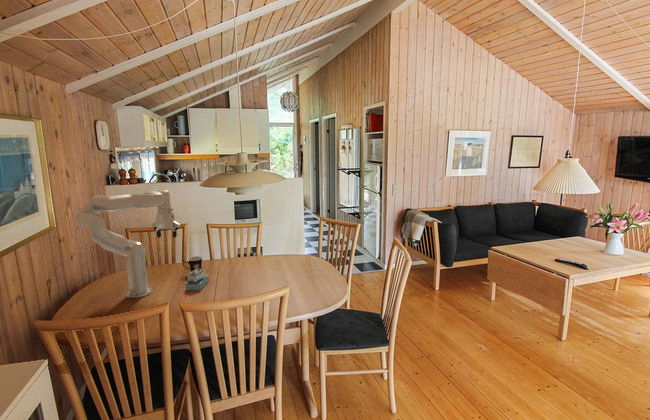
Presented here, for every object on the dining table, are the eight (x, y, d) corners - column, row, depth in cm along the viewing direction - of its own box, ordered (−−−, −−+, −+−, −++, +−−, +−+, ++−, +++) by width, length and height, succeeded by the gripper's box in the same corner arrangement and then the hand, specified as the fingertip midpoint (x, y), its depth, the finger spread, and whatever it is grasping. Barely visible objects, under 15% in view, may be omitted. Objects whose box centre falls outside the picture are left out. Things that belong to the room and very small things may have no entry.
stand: (200, 290, 214) (200, 283, 213) (185, 290, 214) (185, 283, 214) (208, 280, 228) (208, 274, 227) (194, 280, 228) (194, 274, 227)
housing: (205, 276, 224) (204, 268, 222) (196, 282, 215) (195, 273, 214) (197, 275, 225) (196, 267, 224) (188, 281, 217) (187, 272, 216)
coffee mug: (204, 269, 245) (203, 256, 243) (200, 274, 237) (199, 260, 235) (187, 270, 245) (186, 256, 243) (183, 275, 236) (181, 260, 234)
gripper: (181, 209, 223) (183, 235, 227) (153, 209, 224) (156, 235, 227) (175, 211, 216) (178, 239, 219) (147, 211, 216) (150, 238, 220)
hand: (167, 237), depth 223 cm, fingers open, 9 cm apart
